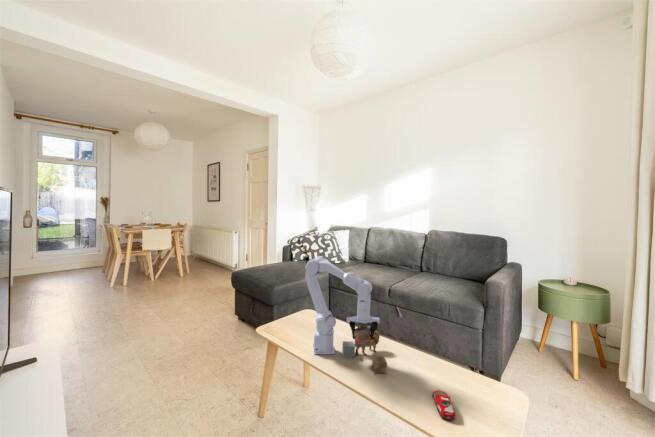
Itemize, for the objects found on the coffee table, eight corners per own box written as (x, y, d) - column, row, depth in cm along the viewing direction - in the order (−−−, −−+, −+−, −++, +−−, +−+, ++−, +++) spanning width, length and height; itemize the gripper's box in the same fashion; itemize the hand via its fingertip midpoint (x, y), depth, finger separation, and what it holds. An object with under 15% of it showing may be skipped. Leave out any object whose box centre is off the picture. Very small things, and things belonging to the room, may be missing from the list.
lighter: (357, 348, 125) (357, 326, 125) (352, 344, 128) (353, 323, 128) (371, 344, 129) (372, 322, 128) (367, 341, 132) (368, 319, 131)
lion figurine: (373, 345, 142) (374, 327, 142) (381, 349, 138) (382, 331, 138) (352, 354, 133) (352, 335, 133) (360, 359, 129) (361, 340, 128)
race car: (430, 394, 107) (431, 384, 107) (446, 396, 107) (446, 385, 106) (439, 420, 94) (440, 408, 94) (456, 422, 94) (457, 411, 93)
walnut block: (374, 374, 118) (375, 362, 118) (372, 367, 123) (372, 356, 123) (386, 374, 118) (387, 362, 118) (383, 367, 123) (384, 356, 123)
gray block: (343, 357, 131) (343, 346, 130) (342, 351, 136) (342, 341, 135) (354, 357, 131) (354, 346, 130) (352, 351, 136) (353, 341, 135)
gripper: (348, 311, 123) (347, 342, 124) (381, 312, 124) (380, 342, 125) (346, 305, 130) (345, 334, 131) (378, 306, 131) (377, 335, 132)
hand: (362, 338), depth 128 cm, fingers closed on lighter, 7 cm apart
